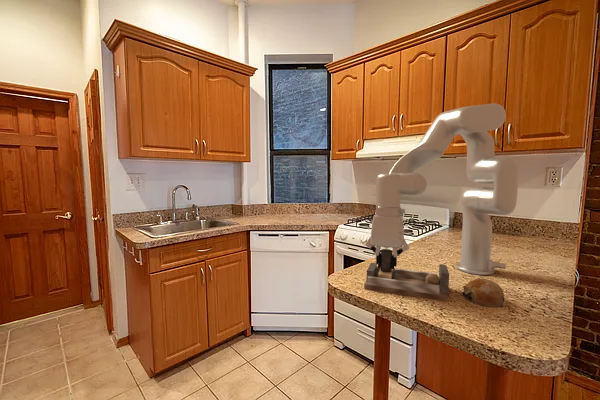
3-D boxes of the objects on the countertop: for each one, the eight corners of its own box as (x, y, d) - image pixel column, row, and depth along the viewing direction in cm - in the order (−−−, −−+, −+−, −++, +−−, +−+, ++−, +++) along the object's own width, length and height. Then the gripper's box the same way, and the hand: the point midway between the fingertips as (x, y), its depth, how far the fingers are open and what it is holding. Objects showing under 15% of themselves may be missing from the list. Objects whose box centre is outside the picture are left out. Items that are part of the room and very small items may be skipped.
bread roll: (496, 322, 77) (514, 299, 74) (458, 299, 81) (473, 276, 79) (494, 307, 85) (510, 287, 83) (460, 287, 90) (474, 266, 87)
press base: (444, 285, 92) (445, 263, 92) (448, 301, 81) (449, 276, 81) (369, 275, 102) (370, 255, 101) (364, 288, 90) (364, 265, 90)
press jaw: (395, 275, 97) (395, 247, 96) (393, 285, 88) (394, 255, 87) (381, 274, 98) (381, 246, 97) (377, 283, 90) (378, 253, 89)
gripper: (415, 211, 92) (413, 266, 93) (363, 209, 98) (362, 261, 100) (415, 214, 85) (413, 274, 87) (359, 212, 91) (358, 267, 93)
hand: (386, 266), depth 93 cm, fingers closed on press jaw, 3 cm apart
